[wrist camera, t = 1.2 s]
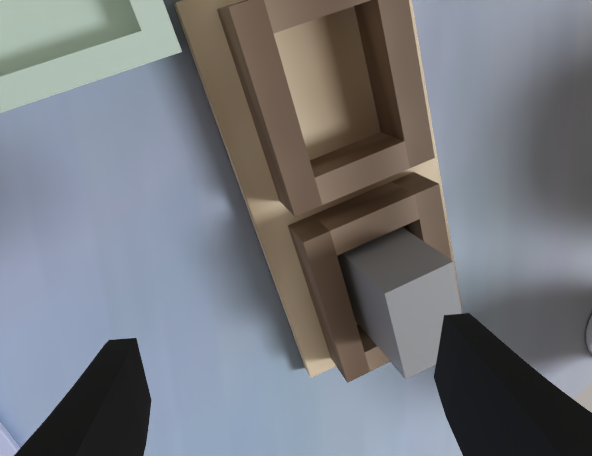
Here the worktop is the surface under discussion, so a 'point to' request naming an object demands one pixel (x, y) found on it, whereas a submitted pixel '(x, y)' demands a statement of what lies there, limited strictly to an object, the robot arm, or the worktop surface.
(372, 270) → the grey rectangular block
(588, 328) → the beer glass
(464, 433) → the robot arm
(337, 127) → the wooden holder
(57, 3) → the tray
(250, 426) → the worktop surface
